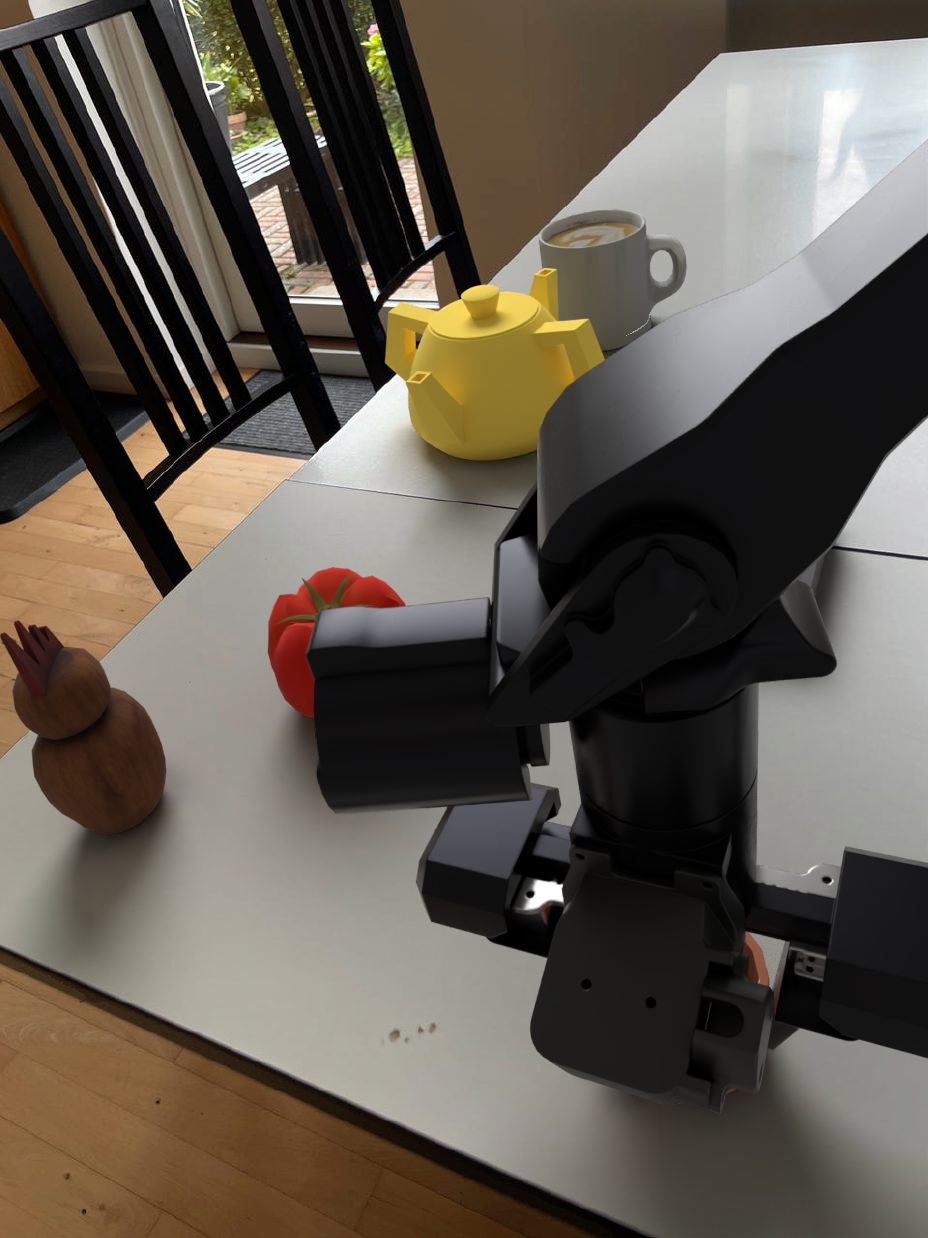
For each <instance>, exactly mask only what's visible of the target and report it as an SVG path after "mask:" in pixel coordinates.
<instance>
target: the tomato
mask: <svg viewBox="0 0 928 1238" xmlns="http://www.w3.org/2000/svg"><path fill="white" fill-rule="evenodd" d="M301 580H302V582H303V583H302V584H301V585H300V586H299V588H298V590H297V592H296V593H295V594H294V593H284V594H283V593H282V594H279V595H278V597H277V598H276V600H275V602H274V604H273V606H272V610H271V613H270V615H269V619H268V622H267V625H268V627H267V629H268V632H267V655H268V659H269V663H270V667H271V669H272V671H273V673H274V676H275V680H276V683H277V686H278V689H279V691H280V693H281V695H282V697H283V699H284V700H285V702H287V703H288V704H289V705H290V706H291V708H293V709H294V710H296V711H297V712H298V713H299V714H300V715H301V716H304V717H307V718H311V719H314V678H313V675H312V672H311V670H310V667H309V664H308V661H307V659H306V652H307V648H308V644H309V640H310V637H311V633H312V629H313V625H314V621H315V618H316V615H317V614H318V612H319V611H320V610H322V609H331V608H341V607H351V606H363V607H375V608H391V607H400V606H407V604H406V602H405V601H404V600H403V599H402V597H401V596H399V594H398V593H397V592H396V591H395V589H393V587H391V585H390V584H388V583H387V582H386V581H384V580H382V579H380V578H378V577H376V576H374V575H367V576H364V577H363V576H361V575H360V574H359V573H358V572H355V571H354V570H352V569H350V568H343V567H335V566H331V567H328V568H324V569H321V570H317V571H316V572H315V573H314V574H313V575H312V576H310V577H309V578H308V579H307V580H305V578H303V577H301Z"/></svg>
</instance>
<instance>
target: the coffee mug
mask: <svg viewBox="0 0 928 1238" xmlns="http://www.w3.org/2000/svg"><path fill="white" fill-rule="evenodd" d="M538 246H539V254H540V262H541V270H542V269H544V268H550V269H557V281H558V316H559V321H569V320H580V319H589V320H590V322H591V325H592V328H593V330H594V333H595V335H596V338H597V340H598V343H599V345H600V348H601V351H602V352H604V351H605V352H606V351H611V350H615V349H621V348H624V347H625V346H627V345H628V344H630V343H631V342H633V341H634V340H636V339H637V338H639V337H640V336H642V335H643V334H645V333H646V332H648V331H649V330H651V329H652V325H653V324H652V323H653V321H652V314H651V315H650V318H649V314H650V312H651V310H652V311H653V309H654V307H655V306H656V305H657V304H659V303H661V302H662V301H665V300H666V299H668V298H670V297H671V296H673V295H674V294H676V293H677V292H678V291H680V289H681V287H682V286H683V284H684V282H685V279H686V276H687V269H688V267H687V266H688V265H687V256H686V251H685V248H684V245H683V244H682V242H681V241H680V240H679V238H677V237H676V236H673V235H670V234H661V233H660V234H648V233H647V223H646V218H645V217H644V216H643V214H640V213H639V212H637V211H634V210H630V209H619V208H606V209H605V208H603V209H595V210H594V209H593V210H588V211H582V212H577V213H573V214H570V215H567V216H563V217H561V218H559V219H556V220H554V221H552V222H550V223H548V224H547V225H546V226H544V227H543V228H542V229H541V230H540V231H539V233H538ZM659 251H664V252H666V253H668V254H669V256H670V258H671V261H672V270H671V274H670V276H669V278H667V279H666V280H664V281H658V280H656V279H654V277H653V275H652V273H651V262H652V258H653V257H654V255H655V254H656V253H657V252H659ZM651 313H652V312H651ZM648 318H649V321H648V323H647V324H646V325H645V326H644V327H642V328H641V329H639V330H638V331H636V332H634V333H632V332H633V331H635V330H637V329H638V328H640V327H641V326H642V325H644V324H645V323H646V322H647V320H648ZM630 333H632V334H630ZM628 334H629V335H628ZM626 335H627V336H626Z"/></svg>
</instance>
